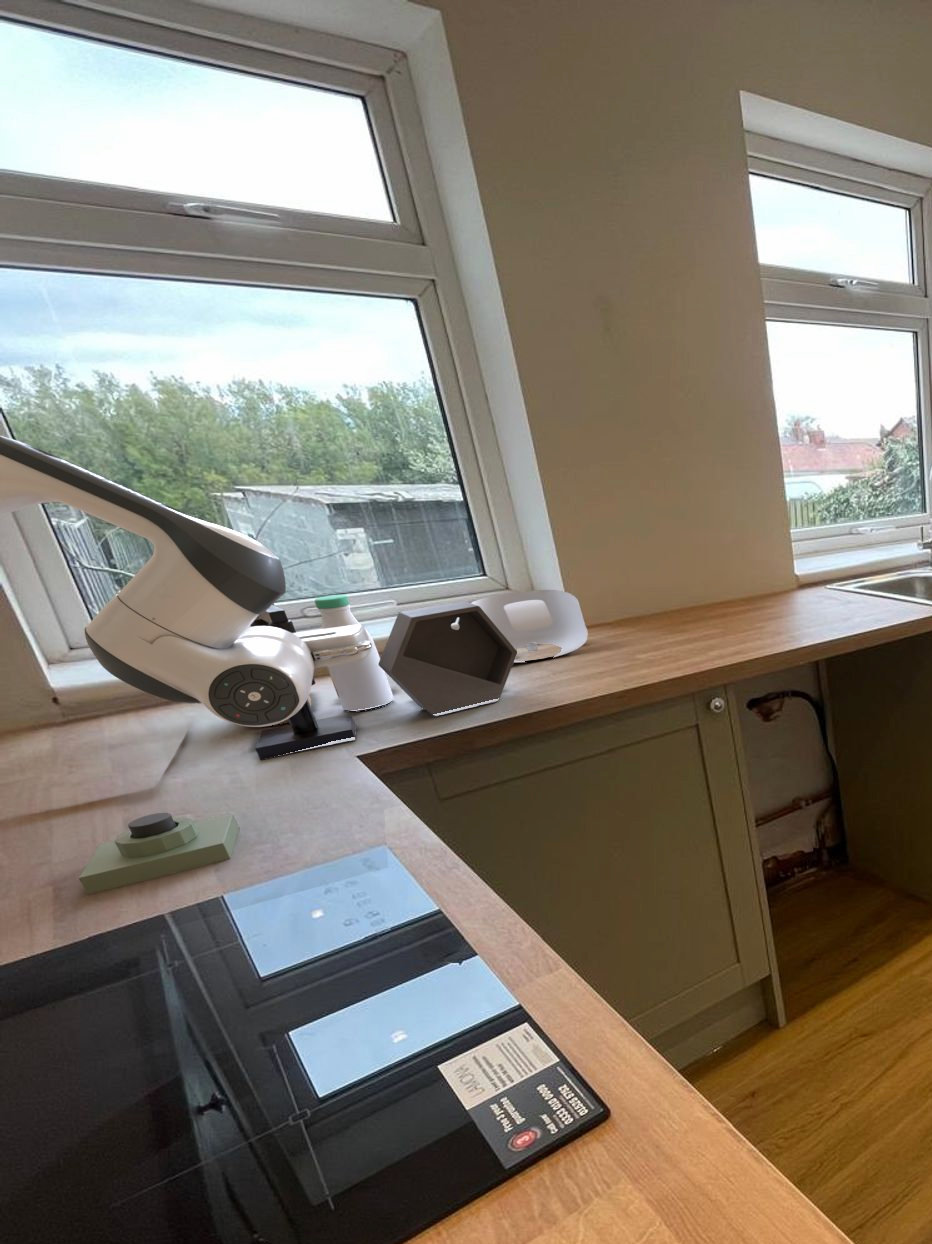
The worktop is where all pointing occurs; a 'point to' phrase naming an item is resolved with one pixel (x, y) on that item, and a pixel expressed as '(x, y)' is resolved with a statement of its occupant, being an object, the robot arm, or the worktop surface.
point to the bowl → (537, 619)
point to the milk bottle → (360, 678)
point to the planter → (448, 656)
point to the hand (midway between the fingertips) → (274, 642)
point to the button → (151, 825)
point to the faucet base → (302, 729)
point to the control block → (160, 853)
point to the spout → (278, 620)
